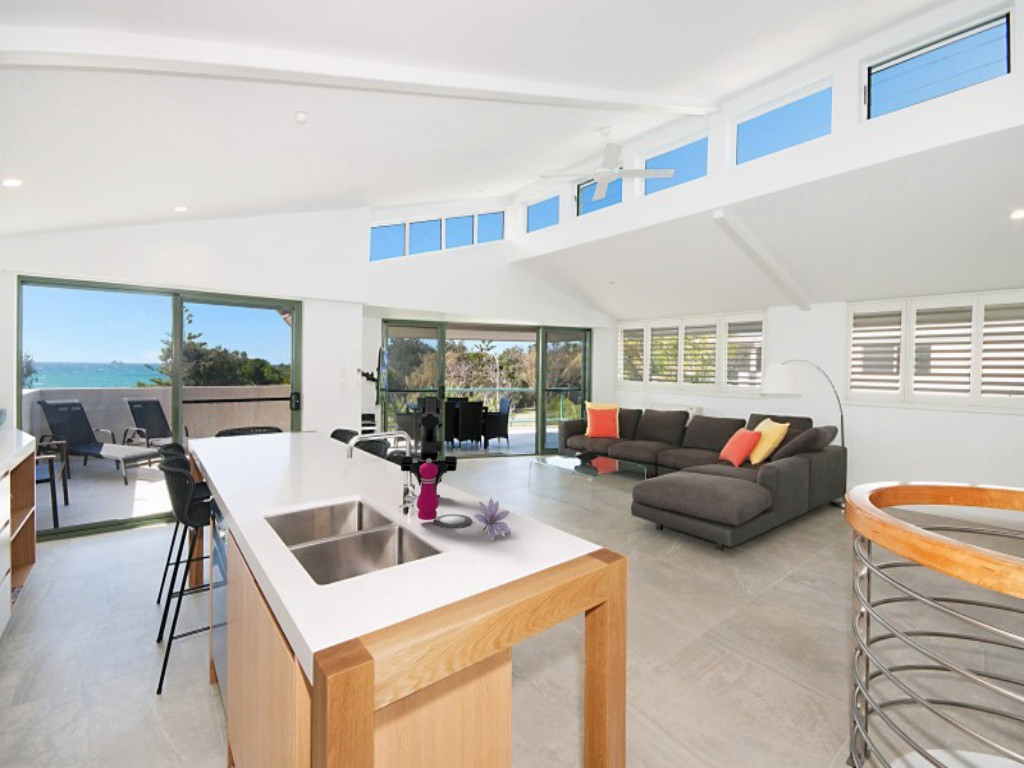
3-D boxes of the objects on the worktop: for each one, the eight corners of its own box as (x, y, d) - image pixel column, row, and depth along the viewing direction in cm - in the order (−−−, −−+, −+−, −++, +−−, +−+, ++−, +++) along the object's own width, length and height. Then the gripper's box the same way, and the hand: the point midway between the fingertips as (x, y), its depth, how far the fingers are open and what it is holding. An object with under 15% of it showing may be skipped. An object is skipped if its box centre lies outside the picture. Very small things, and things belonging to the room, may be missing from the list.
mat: (447, 513, 178) (447, 511, 178) (478, 519, 172) (479, 517, 172) (425, 523, 166) (425, 521, 166) (458, 530, 160) (458, 528, 160)
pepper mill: (426, 511, 172) (428, 454, 170) (442, 516, 168) (444, 458, 166) (411, 517, 166) (413, 458, 164) (427, 522, 162) (429, 462, 160)
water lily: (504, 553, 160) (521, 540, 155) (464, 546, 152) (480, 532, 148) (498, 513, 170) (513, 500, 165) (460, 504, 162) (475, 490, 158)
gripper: (401, 432, 167) (398, 472, 157) (457, 432, 170) (458, 472, 160) (402, 451, 176) (399, 490, 165) (455, 451, 178) (456, 489, 168)
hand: (428, 485), depth 164 cm, fingers closed on pepper mill, 5 cm apart
